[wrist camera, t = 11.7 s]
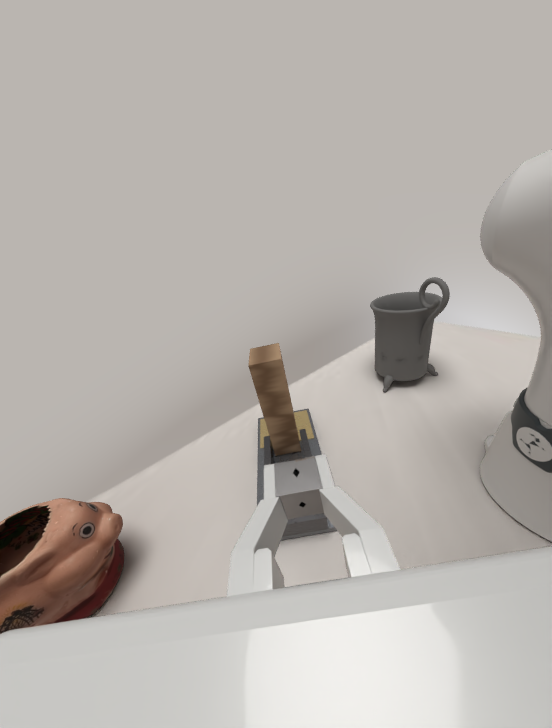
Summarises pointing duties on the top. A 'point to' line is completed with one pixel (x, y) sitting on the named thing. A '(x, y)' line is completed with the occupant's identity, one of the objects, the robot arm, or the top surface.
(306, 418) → the steel chute
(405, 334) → the footed curly-handled cup
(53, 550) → the decorative planter
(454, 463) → the top surface
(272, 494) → the robot arm
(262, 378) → the walnut block
